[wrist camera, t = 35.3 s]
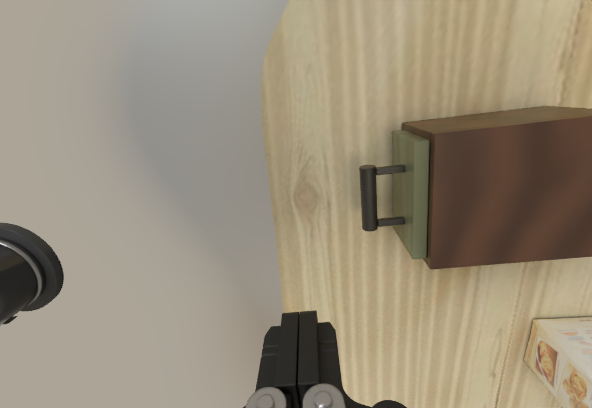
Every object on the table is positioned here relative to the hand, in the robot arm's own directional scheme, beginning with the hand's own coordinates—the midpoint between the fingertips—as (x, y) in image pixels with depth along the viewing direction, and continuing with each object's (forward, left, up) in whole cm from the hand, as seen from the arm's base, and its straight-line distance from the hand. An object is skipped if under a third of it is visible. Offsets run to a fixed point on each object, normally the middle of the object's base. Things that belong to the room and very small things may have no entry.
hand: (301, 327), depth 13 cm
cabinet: (+12, +12, -21) cm, 27 cm away
